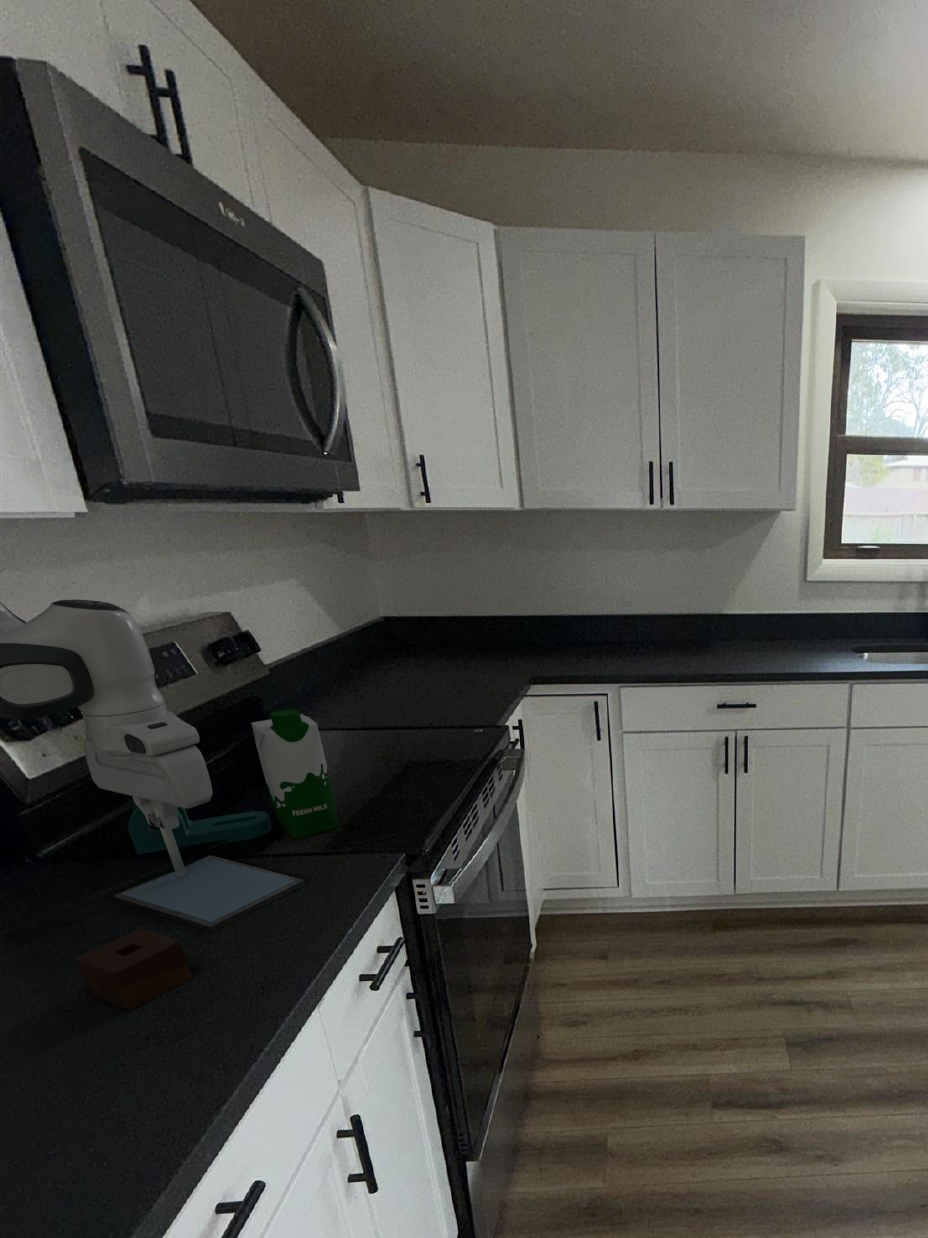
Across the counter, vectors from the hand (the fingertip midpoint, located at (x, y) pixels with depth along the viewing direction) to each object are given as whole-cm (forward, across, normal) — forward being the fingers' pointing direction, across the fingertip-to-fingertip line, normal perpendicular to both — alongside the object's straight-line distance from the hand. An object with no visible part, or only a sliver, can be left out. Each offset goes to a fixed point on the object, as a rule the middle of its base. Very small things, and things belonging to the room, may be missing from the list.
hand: (164, 826), depth 106 cm
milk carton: (+9, -1, +22) cm, 24 cm away
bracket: (+9, -12, +12) cm, 19 cm away
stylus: (+8, 0, 0) cm, 8 cm away
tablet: (+9, +6, 0) cm, 11 cm away
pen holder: (+9, +20, -18) cm, 28 cm away
